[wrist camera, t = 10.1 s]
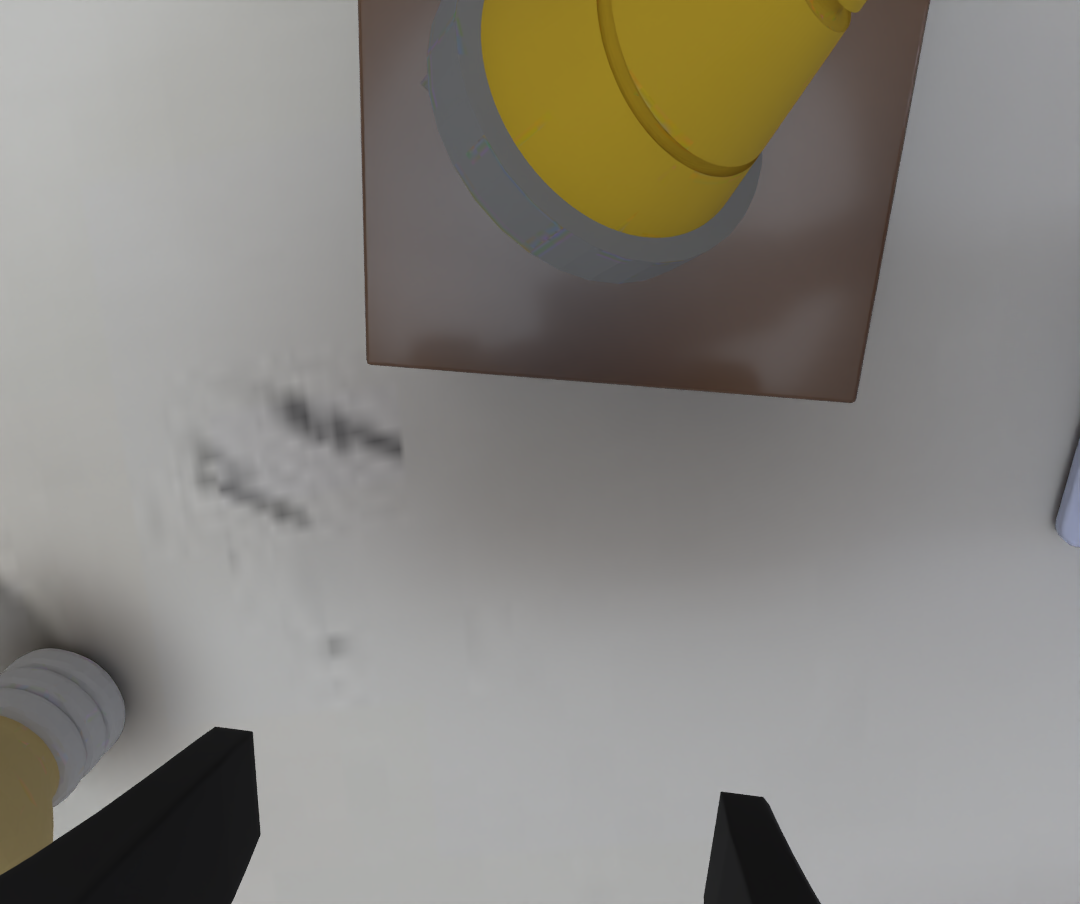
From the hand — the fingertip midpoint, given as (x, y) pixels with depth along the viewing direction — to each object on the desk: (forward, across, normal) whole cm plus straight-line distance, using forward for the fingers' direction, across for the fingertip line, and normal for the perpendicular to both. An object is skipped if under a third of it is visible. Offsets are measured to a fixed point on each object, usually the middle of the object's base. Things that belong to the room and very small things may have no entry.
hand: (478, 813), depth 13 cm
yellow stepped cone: (+6, -1, -11) cm, 13 cm away
